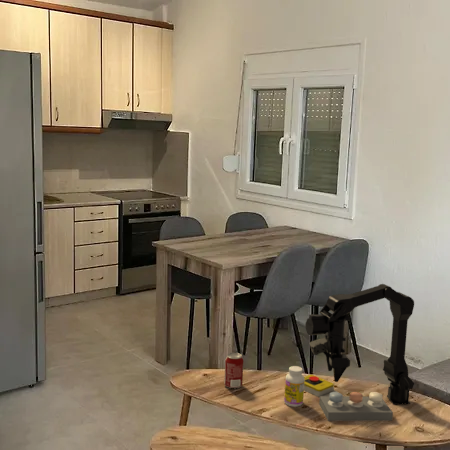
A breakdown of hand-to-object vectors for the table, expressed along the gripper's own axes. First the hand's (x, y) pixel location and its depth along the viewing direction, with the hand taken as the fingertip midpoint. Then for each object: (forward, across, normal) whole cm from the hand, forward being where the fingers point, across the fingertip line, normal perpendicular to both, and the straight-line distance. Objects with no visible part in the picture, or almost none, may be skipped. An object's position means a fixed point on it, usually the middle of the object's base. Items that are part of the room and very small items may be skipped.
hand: (332, 376), depth 201 cm
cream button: (+7, +2, +15) cm, 17 cm away
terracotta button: (+7, +3, +8) cm, 11 cm away
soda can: (+12, -17, -33) cm, 39 cm away
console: (+12, +3, +8) cm, 14 cm away
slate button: (+7, +3, +1) cm, 8 cm away
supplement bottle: (+12, -4, -12) cm, 18 cm away
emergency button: (+13, -16, -2) cm, 20 cm away
